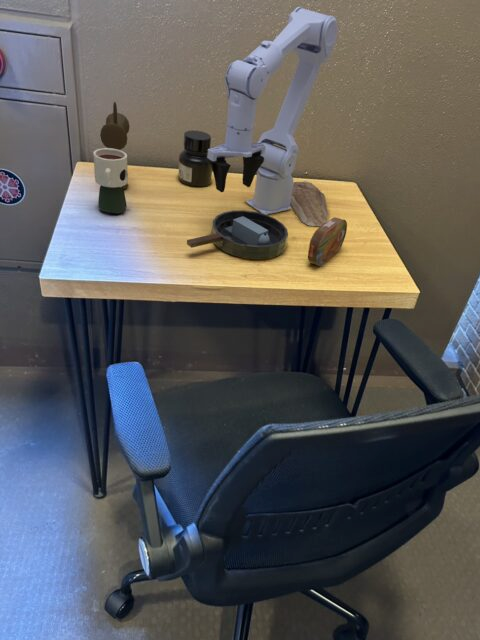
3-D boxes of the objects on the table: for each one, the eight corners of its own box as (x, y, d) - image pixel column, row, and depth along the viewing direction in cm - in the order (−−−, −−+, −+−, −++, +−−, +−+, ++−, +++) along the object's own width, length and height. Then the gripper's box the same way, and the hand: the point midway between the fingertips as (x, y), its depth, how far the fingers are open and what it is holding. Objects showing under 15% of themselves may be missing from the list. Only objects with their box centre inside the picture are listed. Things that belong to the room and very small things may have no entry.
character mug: (125, 222, 119) (124, 165, 111) (92, 218, 118) (88, 161, 110) (131, 201, 127) (130, 147, 119) (100, 198, 126) (97, 143, 118)
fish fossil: (339, 227, 135) (340, 223, 134) (300, 228, 133) (301, 224, 132) (313, 183, 153) (314, 180, 152) (279, 184, 151) (279, 180, 150)
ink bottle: (176, 172, 145) (178, 127, 137) (208, 174, 147) (211, 129, 140) (180, 187, 138) (182, 140, 130) (213, 189, 140) (217, 143, 133)
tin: (314, 271, 116) (322, 237, 111) (302, 266, 117) (309, 231, 112) (343, 248, 126) (352, 216, 121) (331, 243, 127) (340, 211, 122)
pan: (254, 218, 131) (256, 205, 129) (300, 251, 122) (303, 237, 120) (196, 231, 121) (197, 217, 119) (241, 267, 112) (243, 253, 110)
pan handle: (217, 236, 116) (218, 232, 115) (222, 240, 115) (222, 236, 114) (186, 244, 111) (186, 239, 111) (191, 248, 110) (191, 243, 110)
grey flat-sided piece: (223, 230, 123) (225, 215, 120) (235, 226, 125) (237, 212, 123) (261, 252, 118) (263, 237, 115) (272, 248, 120) (274, 232, 118)
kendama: (103, 193, 128) (98, 106, 115) (107, 177, 135) (103, 93, 122) (128, 196, 129) (126, 110, 116) (131, 180, 136) (130, 97, 123)
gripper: (223, 135, 106) (217, 200, 114) (277, 129, 114) (268, 190, 123) (203, 123, 109) (199, 187, 118) (257, 118, 117) (249, 178, 126)
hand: (233, 187), depth 120 cm, fingers open, 7 cm apart
